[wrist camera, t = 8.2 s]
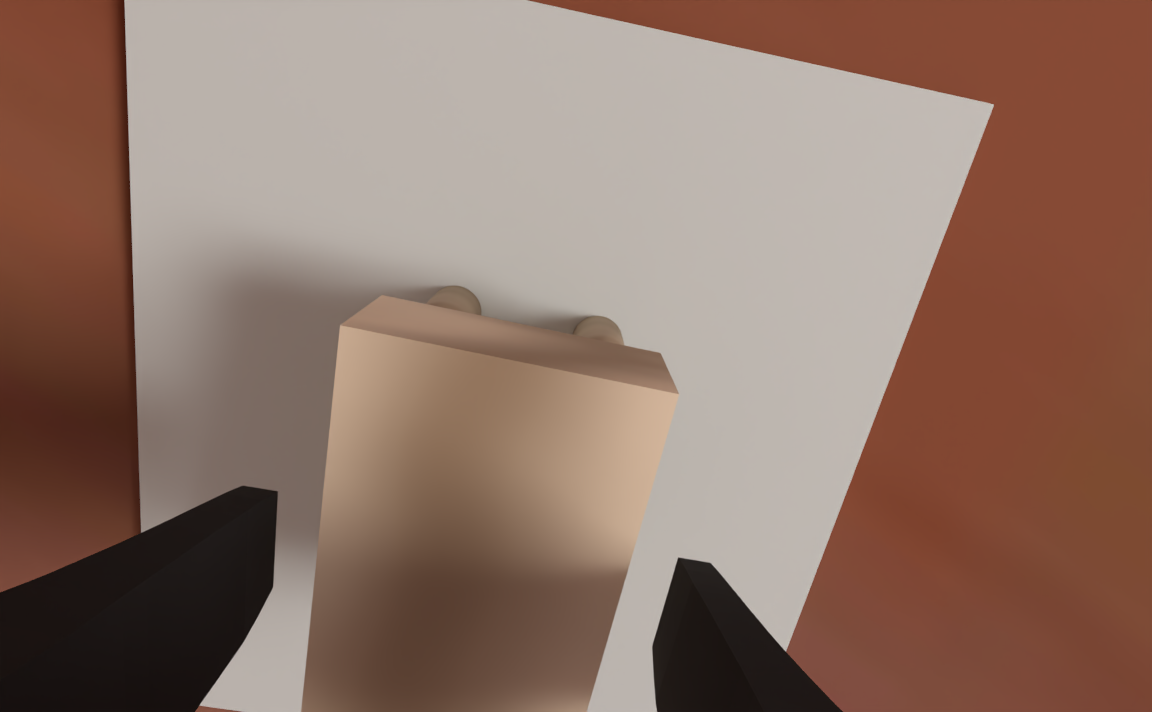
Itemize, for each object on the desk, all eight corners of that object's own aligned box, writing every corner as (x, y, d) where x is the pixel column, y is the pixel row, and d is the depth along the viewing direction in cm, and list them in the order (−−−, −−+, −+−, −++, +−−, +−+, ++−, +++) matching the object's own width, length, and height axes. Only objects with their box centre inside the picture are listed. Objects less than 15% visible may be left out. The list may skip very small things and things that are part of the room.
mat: (732, 765, 19) (736, 780, 19) (157, 683, 18) (146, 698, 18) (978, 106, 13) (993, 104, 13) (139, -80, 12) (121, -90, 12)
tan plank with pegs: (639, 307, 14) (679, 394, 9) (568, 584, 17) (566, 780, 11) (427, 261, 14) (340, 325, 9) (386, 552, 16) (297, 739, 11)
